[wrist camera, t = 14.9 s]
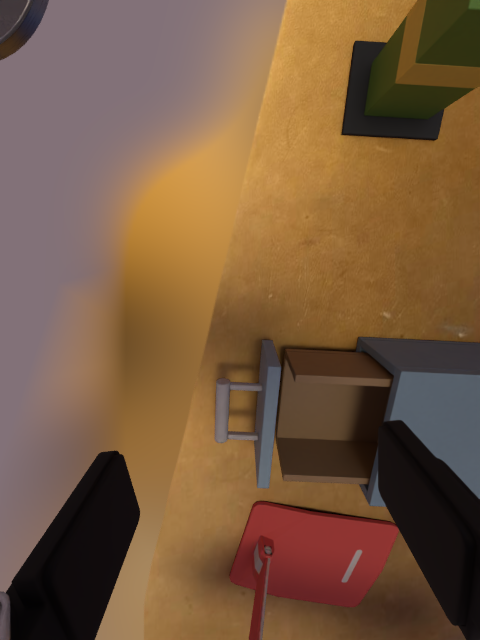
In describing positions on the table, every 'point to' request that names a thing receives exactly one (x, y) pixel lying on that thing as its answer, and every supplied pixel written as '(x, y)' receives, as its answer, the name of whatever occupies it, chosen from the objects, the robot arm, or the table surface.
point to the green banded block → (427, 61)
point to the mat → (378, 125)
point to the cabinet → (433, 401)
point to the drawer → (313, 414)
